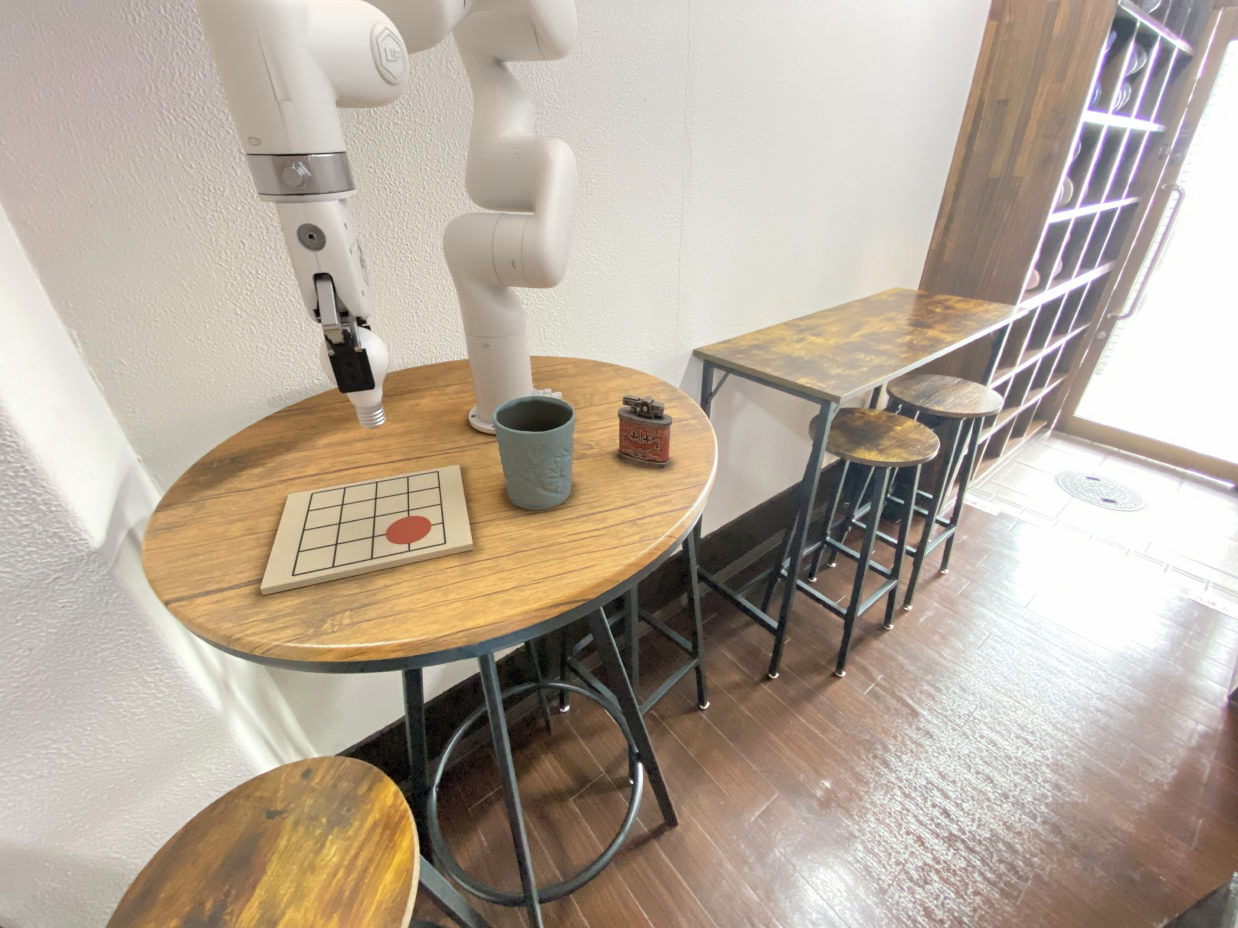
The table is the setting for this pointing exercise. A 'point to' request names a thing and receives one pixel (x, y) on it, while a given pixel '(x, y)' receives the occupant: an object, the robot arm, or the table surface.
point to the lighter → (644, 432)
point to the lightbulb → (378, 355)
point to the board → (368, 528)
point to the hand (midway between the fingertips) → (360, 374)
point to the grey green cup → (536, 450)
